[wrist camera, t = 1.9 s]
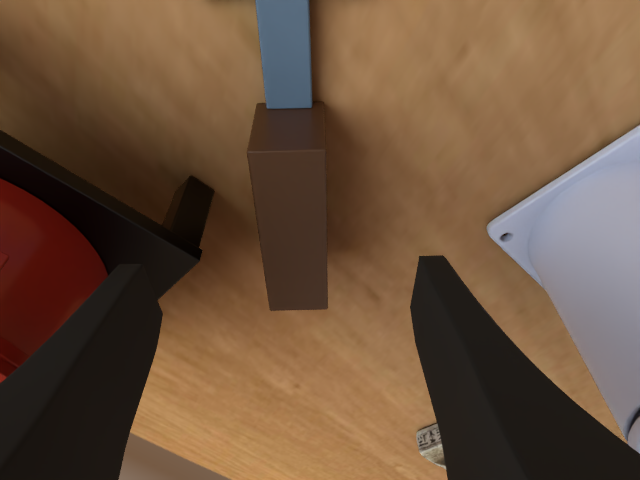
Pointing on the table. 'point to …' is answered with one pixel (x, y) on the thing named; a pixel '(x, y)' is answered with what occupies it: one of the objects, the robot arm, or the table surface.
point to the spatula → (289, 162)
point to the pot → (77, 245)
